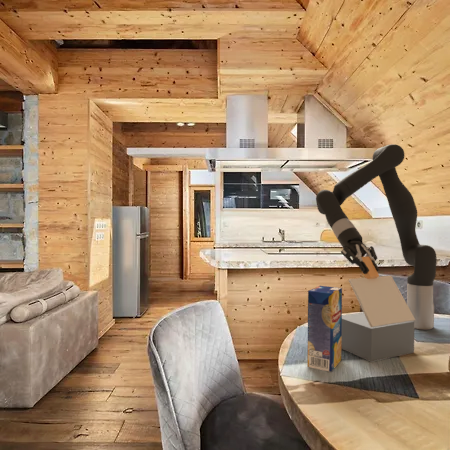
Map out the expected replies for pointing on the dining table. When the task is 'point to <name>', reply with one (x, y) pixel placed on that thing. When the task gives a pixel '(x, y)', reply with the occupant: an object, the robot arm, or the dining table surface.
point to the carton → (376, 338)
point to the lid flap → (380, 298)
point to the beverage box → (324, 327)
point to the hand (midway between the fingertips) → (371, 271)
